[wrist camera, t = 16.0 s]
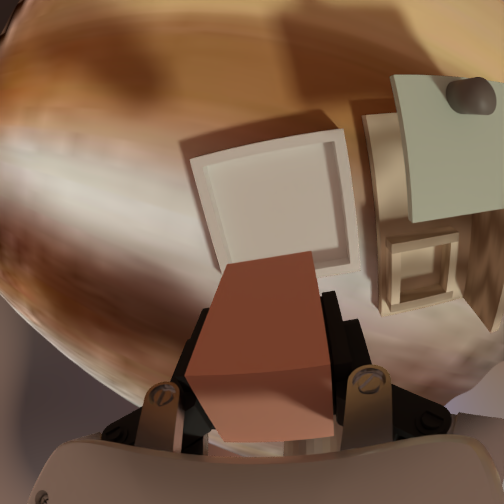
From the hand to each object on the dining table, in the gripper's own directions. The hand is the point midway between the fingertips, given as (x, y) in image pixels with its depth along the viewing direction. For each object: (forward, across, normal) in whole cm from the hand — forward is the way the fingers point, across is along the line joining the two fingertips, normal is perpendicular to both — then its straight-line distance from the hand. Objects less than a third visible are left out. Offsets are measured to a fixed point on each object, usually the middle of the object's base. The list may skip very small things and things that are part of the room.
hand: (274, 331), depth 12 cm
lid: (+9, -16, -5) cm, 19 cm away
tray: (+18, 0, 0) cm, 18 cm away
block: (+3, 0, 0) cm, 3 cm away
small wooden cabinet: (+18, -16, +3) cm, 25 cm away
